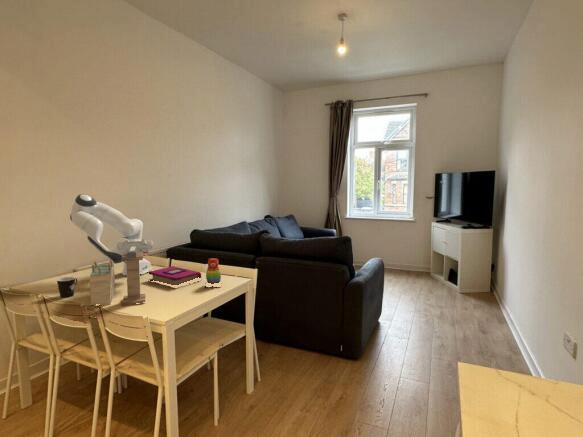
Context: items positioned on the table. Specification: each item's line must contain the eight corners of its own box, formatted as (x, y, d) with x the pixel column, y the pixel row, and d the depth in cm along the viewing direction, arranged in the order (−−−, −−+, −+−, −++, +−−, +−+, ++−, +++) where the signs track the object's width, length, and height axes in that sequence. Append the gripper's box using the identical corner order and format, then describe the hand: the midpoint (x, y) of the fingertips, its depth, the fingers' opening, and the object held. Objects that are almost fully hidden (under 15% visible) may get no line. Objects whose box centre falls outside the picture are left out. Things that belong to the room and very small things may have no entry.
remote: (130, 250, 194) (130, 244, 194) (137, 249, 195) (137, 244, 195) (127, 258, 174) (127, 252, 173) (136, 257, 175) (135, 251, 175)
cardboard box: (97, 293, 196) (96, 259, 194) (114, 292, 200) (113, 258, 198) (91, 306, 176) (89, 268, 174) (110, 304, 180) (109, 266, 177)
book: (174, 275, 240) (173, 264, 239) (201, 281, 225) (201, 270, 224) (147, 282, 222) (147, 270, 221) (175, 289, 207) (175, 277, 206)
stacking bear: (203, 288, 210) (203, 260, 208) (206, 283, 220) (205, 256, 218) (221, 287, 211) (221, 260, 209) (222, 283, 221) (222, 256, 219)
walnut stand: (123, 299, 187) (122, 253, 185) (145, 297, 191) (144, 252, 189) (122, 306, 177) (120, 257, 175) (144, 303, 181) (143, 256, 179)
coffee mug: (62, 299, 186) (61, 282, 185) (55, 296, 190) (54, 279, 189) (84, 294, 195) (83, 277, 194) (77, 291, 200) (76, 275, 199)
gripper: (117, 244, 211) (115, 236, 199) (152, 243, 219) (152, 235, 207) (117, 254, 209) (115, 246, 197) (152, 252, 217) (152, 245, 205)
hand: (134, 240), depth 202 cm, fingers open, 8 cm apart
